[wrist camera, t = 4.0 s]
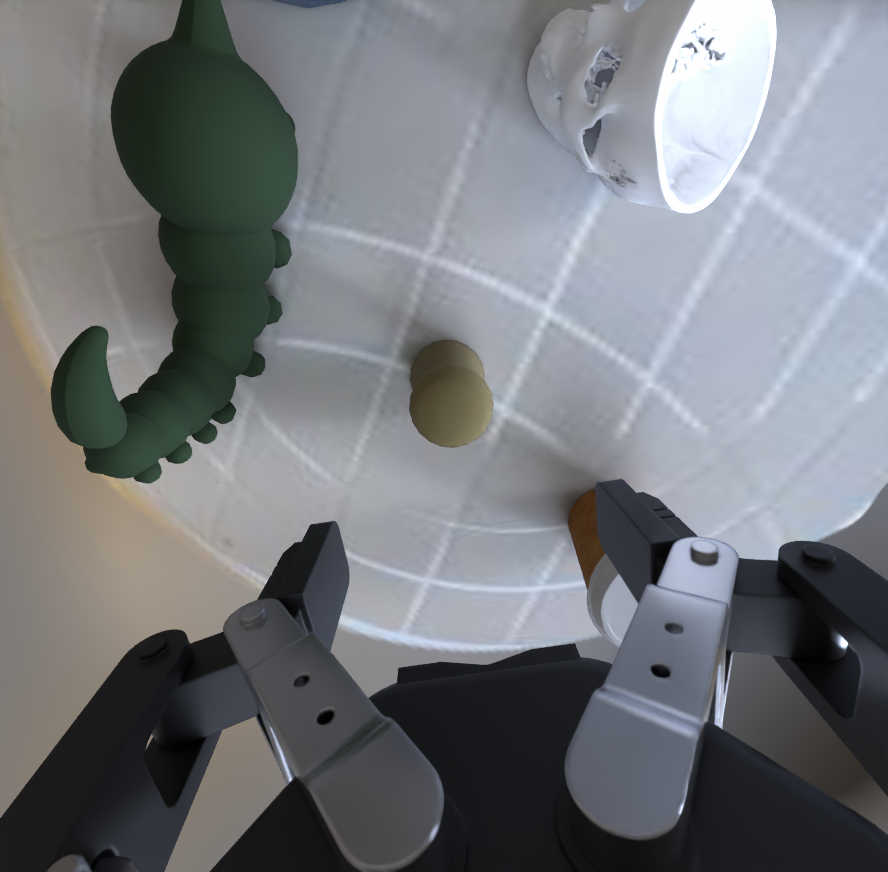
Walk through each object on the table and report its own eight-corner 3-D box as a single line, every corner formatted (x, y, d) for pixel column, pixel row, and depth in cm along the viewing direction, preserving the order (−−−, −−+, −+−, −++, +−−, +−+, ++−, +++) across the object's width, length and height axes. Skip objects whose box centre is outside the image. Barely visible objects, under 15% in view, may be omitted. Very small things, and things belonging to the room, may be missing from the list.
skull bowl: (558, -69, 27) (759, -153, 19) (656, 96, 37) (822, 90, 28) (471, 110, 30) (610, 109, 21) (582, 222, 39) (712, 253, 31)
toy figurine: (295, 403, 39) (337, 50, 30) (177, 533, 22) (186, -214, 12) (183, 378, 39) (189, 6, 29) (-32, 493, 21) (-196, -343, 12)
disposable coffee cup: (644, 564, 43) (718, 665, 32) (544, 562, 43) (583, 662, 32) (664, 471, 40) (754, 545, 29) (556, 468, 40) (605, 541, 29)
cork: (469, 328, 36) (483, 346, 26) (494, 397, 38) (517, 440, 27) (398, 356, 37) (384, 384, 26) (426, 423, 39) (423, 475, 28)
